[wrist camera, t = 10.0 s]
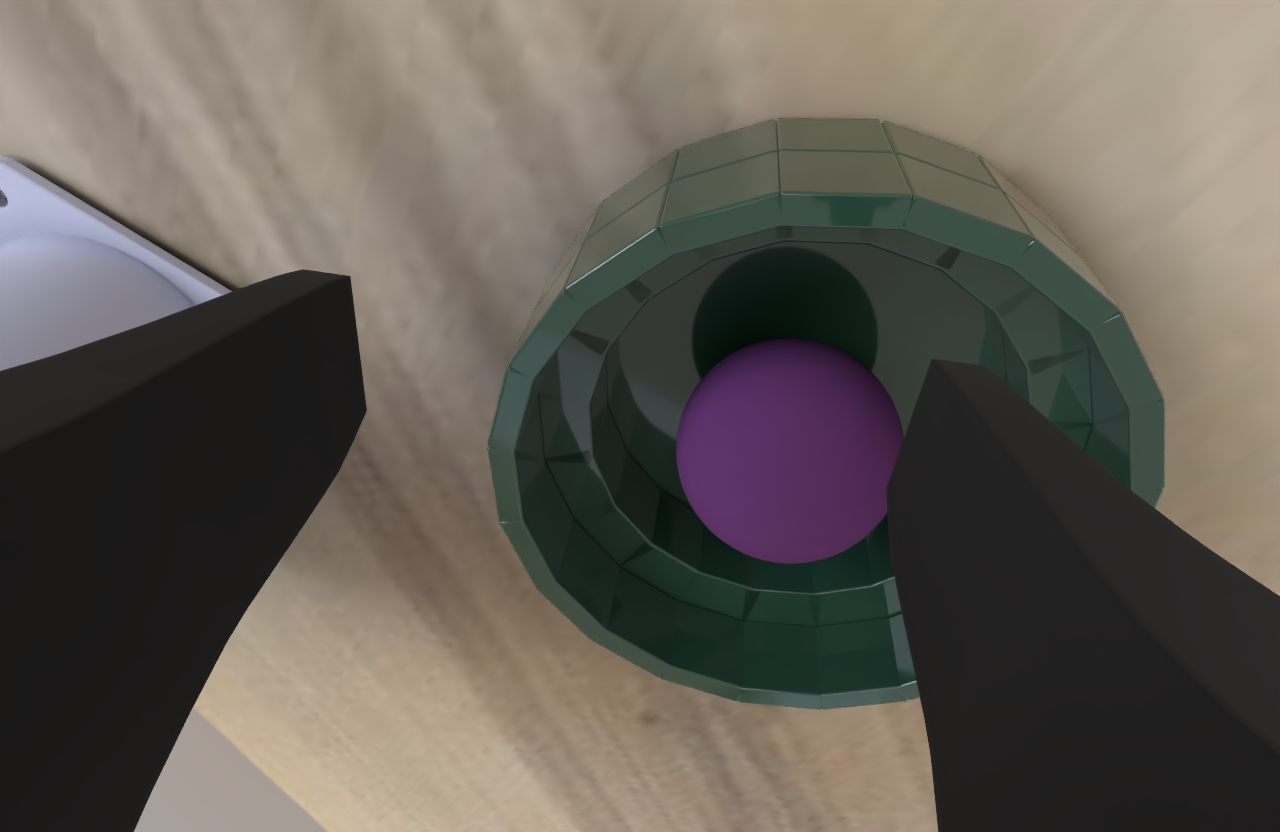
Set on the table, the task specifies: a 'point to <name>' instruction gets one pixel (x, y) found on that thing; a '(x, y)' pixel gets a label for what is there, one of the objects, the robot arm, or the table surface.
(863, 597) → the bowl
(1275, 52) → the table surface
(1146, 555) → the robot arm
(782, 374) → the ball
